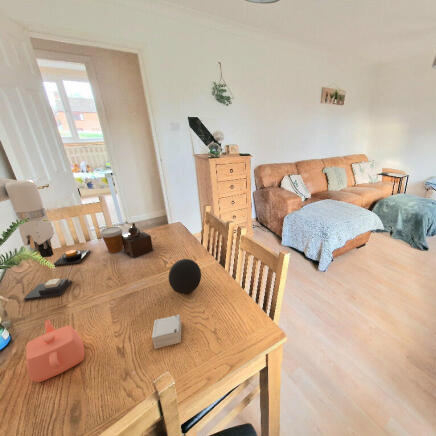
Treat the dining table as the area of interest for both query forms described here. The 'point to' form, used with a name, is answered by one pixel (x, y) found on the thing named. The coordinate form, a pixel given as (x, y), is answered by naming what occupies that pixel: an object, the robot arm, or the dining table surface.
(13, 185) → the robot arm
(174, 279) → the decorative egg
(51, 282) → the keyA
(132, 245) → the brown coffee grinder
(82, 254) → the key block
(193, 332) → the dining table surface
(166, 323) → the small box
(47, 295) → the dark grey base
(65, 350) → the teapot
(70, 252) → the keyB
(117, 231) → the disposable coffee cup
